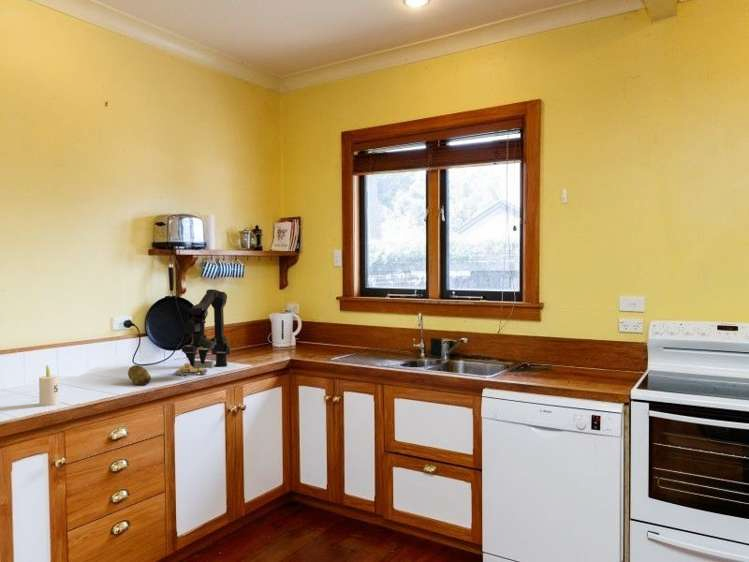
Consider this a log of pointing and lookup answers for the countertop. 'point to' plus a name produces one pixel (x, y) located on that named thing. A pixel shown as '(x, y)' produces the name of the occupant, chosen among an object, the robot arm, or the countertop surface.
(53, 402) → the candle
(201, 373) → the round metal dish
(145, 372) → the potato
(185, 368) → the tan curved piece
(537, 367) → the countertop surface
